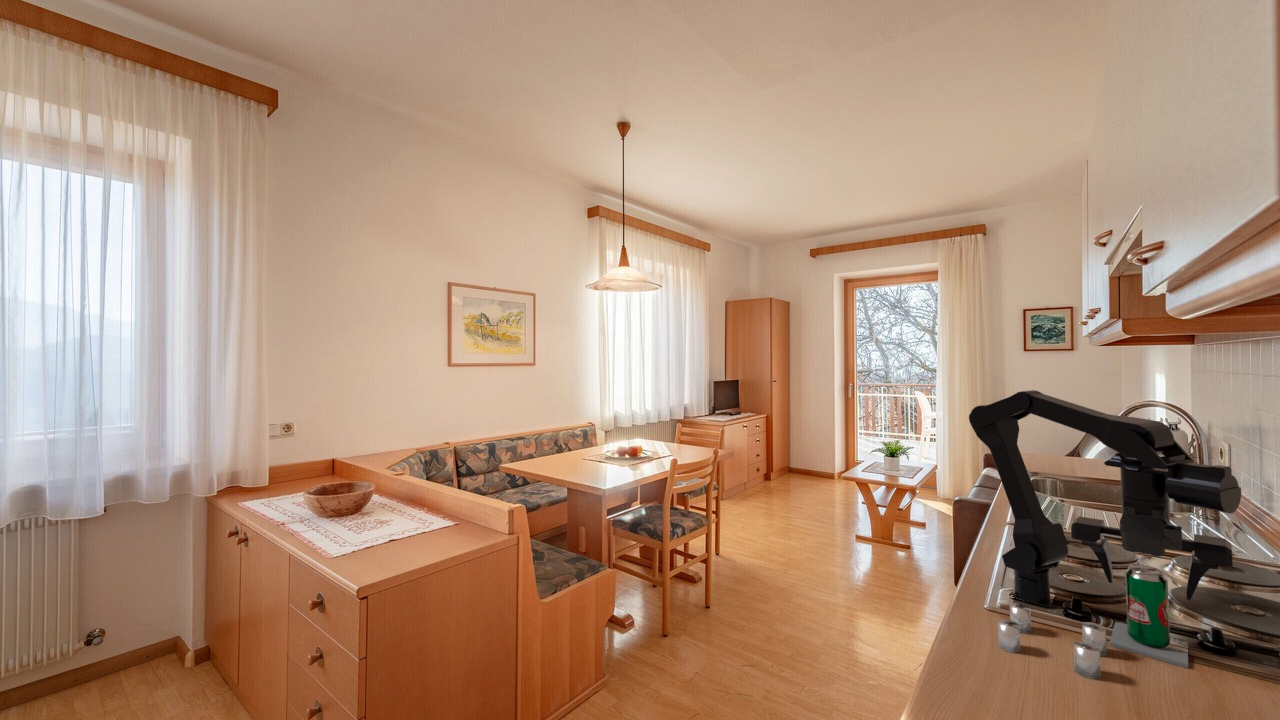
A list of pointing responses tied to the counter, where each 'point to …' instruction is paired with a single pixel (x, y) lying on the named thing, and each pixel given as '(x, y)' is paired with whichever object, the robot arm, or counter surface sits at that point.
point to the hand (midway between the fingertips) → (1148, 590)
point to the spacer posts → (1083, 651)
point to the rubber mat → (1147, 647)
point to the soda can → (1147, 606)
